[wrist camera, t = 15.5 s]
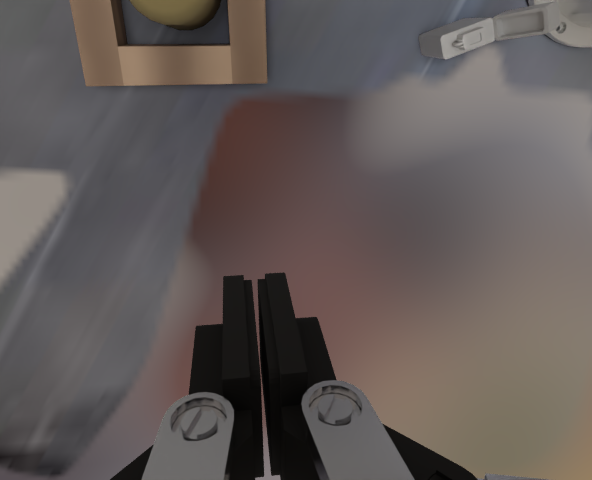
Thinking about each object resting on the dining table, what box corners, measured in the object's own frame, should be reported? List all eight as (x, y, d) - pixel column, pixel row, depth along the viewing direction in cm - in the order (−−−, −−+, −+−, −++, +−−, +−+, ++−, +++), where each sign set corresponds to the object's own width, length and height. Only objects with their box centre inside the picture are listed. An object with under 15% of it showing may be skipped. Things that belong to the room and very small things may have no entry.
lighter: (422, 56, 38) (467, 64, 31) (418, 35, 37) (463, 37, 30) (501, 26, 38) (565, 27, 31) (499, 4, 37) (564, 0, 30)
